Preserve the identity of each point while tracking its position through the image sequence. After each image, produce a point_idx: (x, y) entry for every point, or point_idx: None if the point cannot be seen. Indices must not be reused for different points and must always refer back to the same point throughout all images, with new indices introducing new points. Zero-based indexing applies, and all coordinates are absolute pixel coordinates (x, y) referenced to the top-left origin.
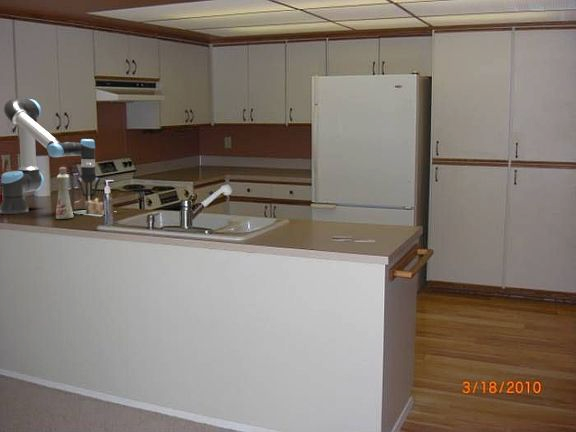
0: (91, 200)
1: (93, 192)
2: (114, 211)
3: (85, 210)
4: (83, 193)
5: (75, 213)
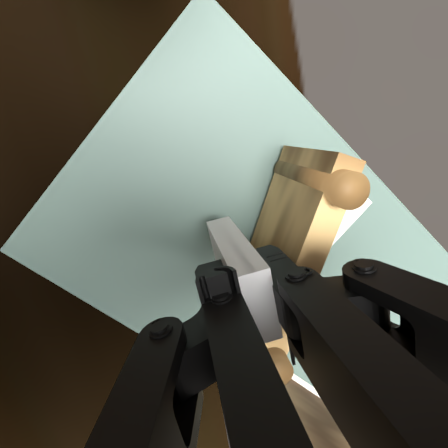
0: (291, 369)
1: (376, 302)
2: (427, 237)
3: (157, 120)
4: (183, 417)
5: (106, 313)
